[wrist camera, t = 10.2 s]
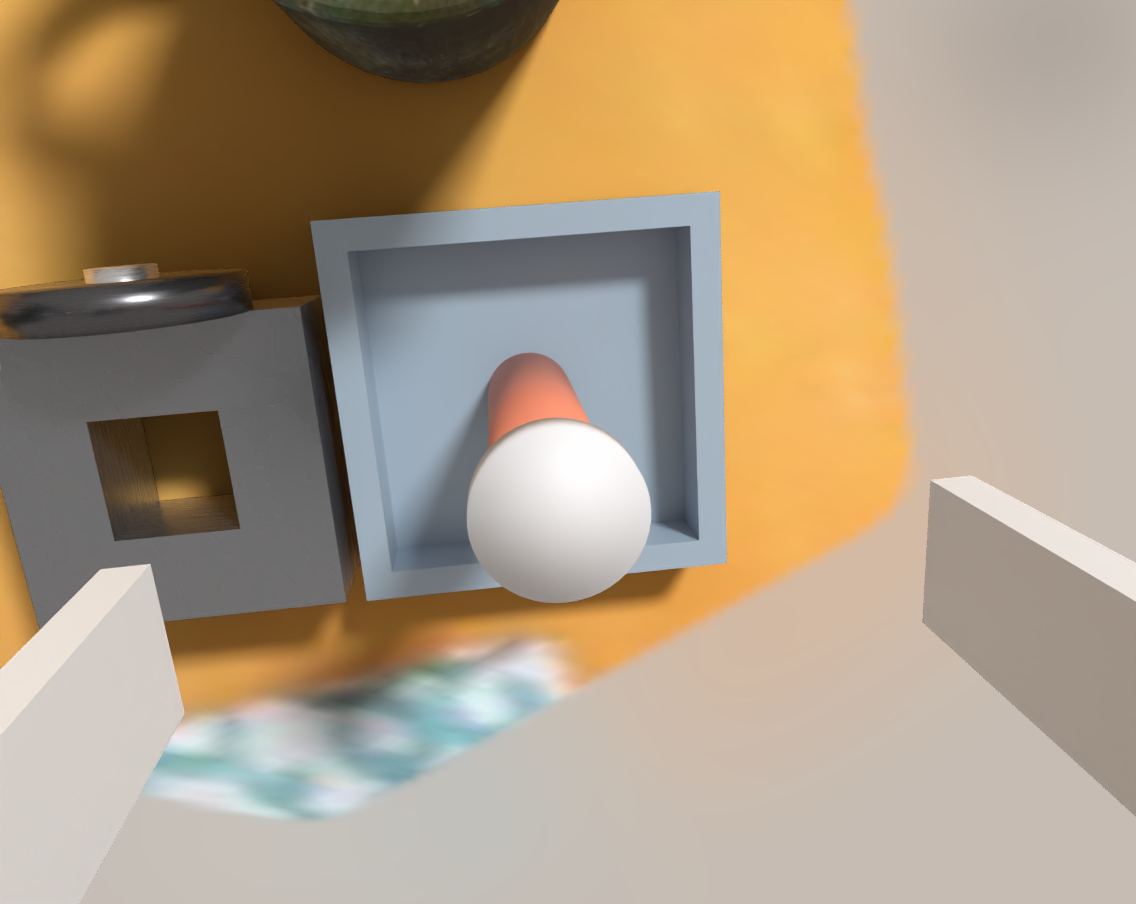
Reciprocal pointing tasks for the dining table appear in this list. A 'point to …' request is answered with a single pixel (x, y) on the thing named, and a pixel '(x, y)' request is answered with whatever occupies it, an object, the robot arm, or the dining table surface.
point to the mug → (420, 33)
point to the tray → (513, 326)
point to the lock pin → (552, 490)
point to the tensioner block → (164, 387)
